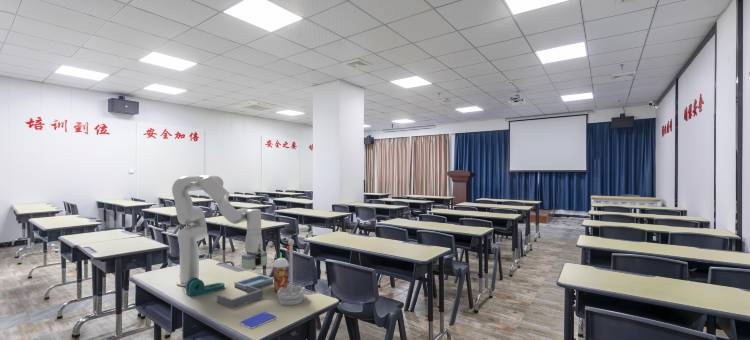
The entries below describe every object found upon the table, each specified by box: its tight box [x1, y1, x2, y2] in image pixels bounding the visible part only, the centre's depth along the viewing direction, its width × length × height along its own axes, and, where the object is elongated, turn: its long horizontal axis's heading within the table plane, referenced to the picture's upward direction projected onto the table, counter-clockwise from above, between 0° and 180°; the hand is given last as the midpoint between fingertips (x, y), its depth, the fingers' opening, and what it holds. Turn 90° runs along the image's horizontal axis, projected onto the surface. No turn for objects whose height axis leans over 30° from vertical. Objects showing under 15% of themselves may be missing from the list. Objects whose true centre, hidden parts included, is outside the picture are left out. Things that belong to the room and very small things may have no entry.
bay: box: [216, 285, 264, 309], centre depth 172 cm, size 12×17×4 cm
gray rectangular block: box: [241, 251, 268, 271], centre depth 194 cm, size 6×12×7 cm, turn 144°
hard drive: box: [238, 311, 277, 329], centre depth 149 cm, size 2×8×12 cm
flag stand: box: [276, 238, 306, 306], centre depth 171 cm, size 13×13×30 cm
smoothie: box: [272, 252, 290, 293], centre depth 185 cm, size 8×8×20 cm
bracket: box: [185, 277, 225, 298], centre depth 184 cm, size 18×7×8 cm, turn 134°
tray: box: [234, 274, 274, 292], centre depth 194 cm, size 11×17×2 cm, turn 144°
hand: (254, 263), depth 194 cm, fingers closed on gray rectangular block, 6 cm apart
